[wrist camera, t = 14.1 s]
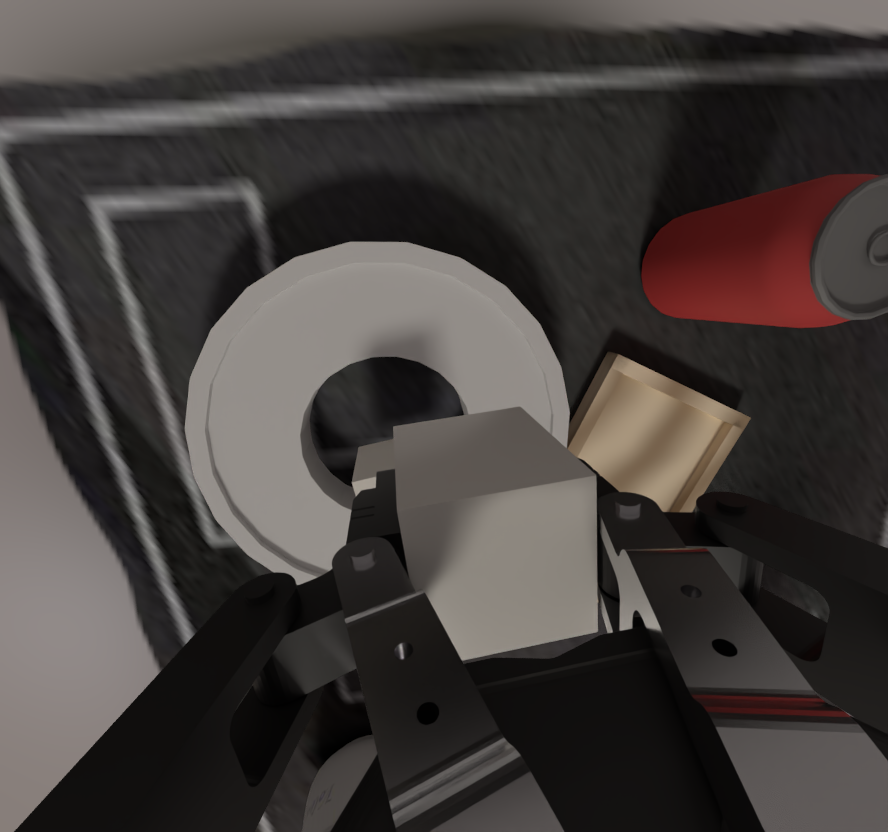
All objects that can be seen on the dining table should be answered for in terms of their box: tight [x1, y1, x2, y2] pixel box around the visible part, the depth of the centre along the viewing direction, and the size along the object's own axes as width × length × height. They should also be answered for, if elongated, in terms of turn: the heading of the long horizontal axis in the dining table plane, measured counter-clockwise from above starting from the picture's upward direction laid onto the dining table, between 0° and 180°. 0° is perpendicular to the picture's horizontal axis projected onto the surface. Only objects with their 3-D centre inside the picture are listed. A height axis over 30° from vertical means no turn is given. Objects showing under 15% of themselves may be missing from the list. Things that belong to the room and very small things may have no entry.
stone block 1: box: [352, 439, 395, 496], centre depth 24 cm, size 4×4×5 cm
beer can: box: [641, 174, 888, 328], centre depth 22 cm, size 7×7×12 cm
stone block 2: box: [393, 406, 598, 660], centre depth 11 cm, size 4×4×5 cm
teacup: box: [302, 735, 377, 832], centre depth 34 cm, size 14×11×8 cm
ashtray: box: [185, 242, 570, 585], centre depth 27 cm, size 23×23×4 cm
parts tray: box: [567, 351, 751, 602], centre depth 32 cm, size 12×18×1 cm, turn 156°
